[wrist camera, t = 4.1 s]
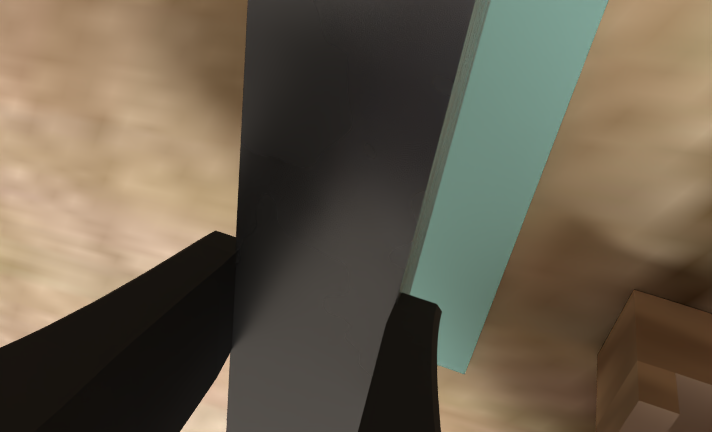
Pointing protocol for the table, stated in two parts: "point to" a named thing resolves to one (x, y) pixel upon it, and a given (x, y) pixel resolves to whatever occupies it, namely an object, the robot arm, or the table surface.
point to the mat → (499, 158)
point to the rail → (336, 193)
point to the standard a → (656, 369)
